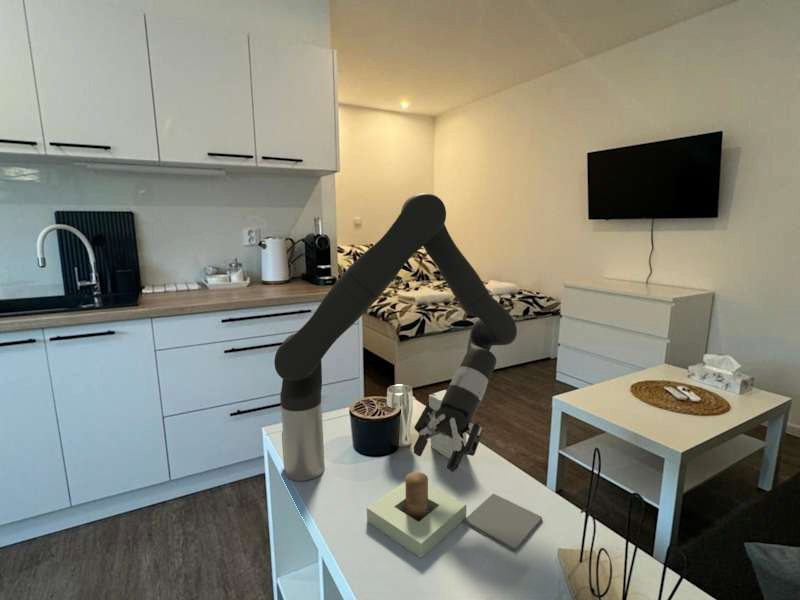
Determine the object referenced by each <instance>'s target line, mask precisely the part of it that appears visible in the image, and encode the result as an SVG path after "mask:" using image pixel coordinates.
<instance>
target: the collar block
mask: <svg viewBox="0 0 800 600" xmlns="http://www.w3.org/2000/svg"><path fill="white" fill-rule="evenodd" d="M466 518H467V503H465V502H464V501H462V500H460V499H458V498H455V497H454V496H452V495H451V494H449V493H446V492H444V491H442V490H441V489H438V488H437V487H435V486H433V485H431V484H429V483H428V515H427V516H425V517H424V518H423V519H422V520H421V521H419V522H418V521H416V520H415V519H413V518H411V517H410V516H408V515H407V514H406V485H405V481H403V483H401V484H400V485H398V486H396V487H395V488H394V489H392V490H391V491H390V492H388V493H386V494H385V495H384V496H382V497H380V498H379V499H378V500H376V501H375V502H373V503H371V504H370V505H369V506H367V507H366V520H367V521H366V522H368V523H369V524H371V525H372V526H374V527H375V528H377V530H379V531H381V532H382V533H384V534H385V535H386V536H388V537H390V538H391V539H392V540H393V541H395V542H396V543H398V544H400V545H401V546H402V547H404V548H406V549H407V550H408V551H410V552H411V553H412V554H415V556H417V557H418V558H419V559H423V558H424V557H425V555H427V554H428V553H429V552H430V551H431V550H432V549H434V547H436V545H438V544H439V543H440V542H441V541H442V540H443V539H445V538H446V537H447V536H448V535H449V534H450V533H451V532H452V531H453V530H455V528H456V527H458V526H459V525H460V524H461V523H462V522H464V520H465V519H466Z"/></svg>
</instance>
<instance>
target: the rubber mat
mask: <svg viewBox="0 0 800 600" xmlns="http://www.w3.org/2000/svg"><path fill="white" fill-rule="evenodd" d="M542 520H543V516H541V515H539V514H538V513H535V512H534V511H531V510H529V509H527V508H524V507H522V506H520V505H519V504H516V503H514V502H512V501H510V500H507V499H506V498H504V497H502V496H499V495H498V494H496V493H492V494H491V495H490V496H489V497H487V498H486V499H485V500H484V501H483V502H482V503H481V504H480V505H479V506H478V507H476V508H475V510H473V511H472V512H471V513H470V514H469V515H468V516H466V518H465V519H464V520H463V523H464V524H465V525H468V526H469V527H470V528H473V529H475V530H476V531H477V532H480V533H482V534H483V535H485V536H487V537H489V538H491V539H492V540H494V541H496V542H498V543H499V544H501V545H503V546H505V547H506V548H508V549H509V550H512V551H513V552H516V551H517V550H518V549H519V548H520V547H521V546H522V544H523V543H524V542H525V541H526V539H527V538H528V537H529V536H530V535H531V534H532V532H533V531H534V530H535V529H536V528H537V527H538V525H539V524H540V523H541V521H542Z"/></svg>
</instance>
